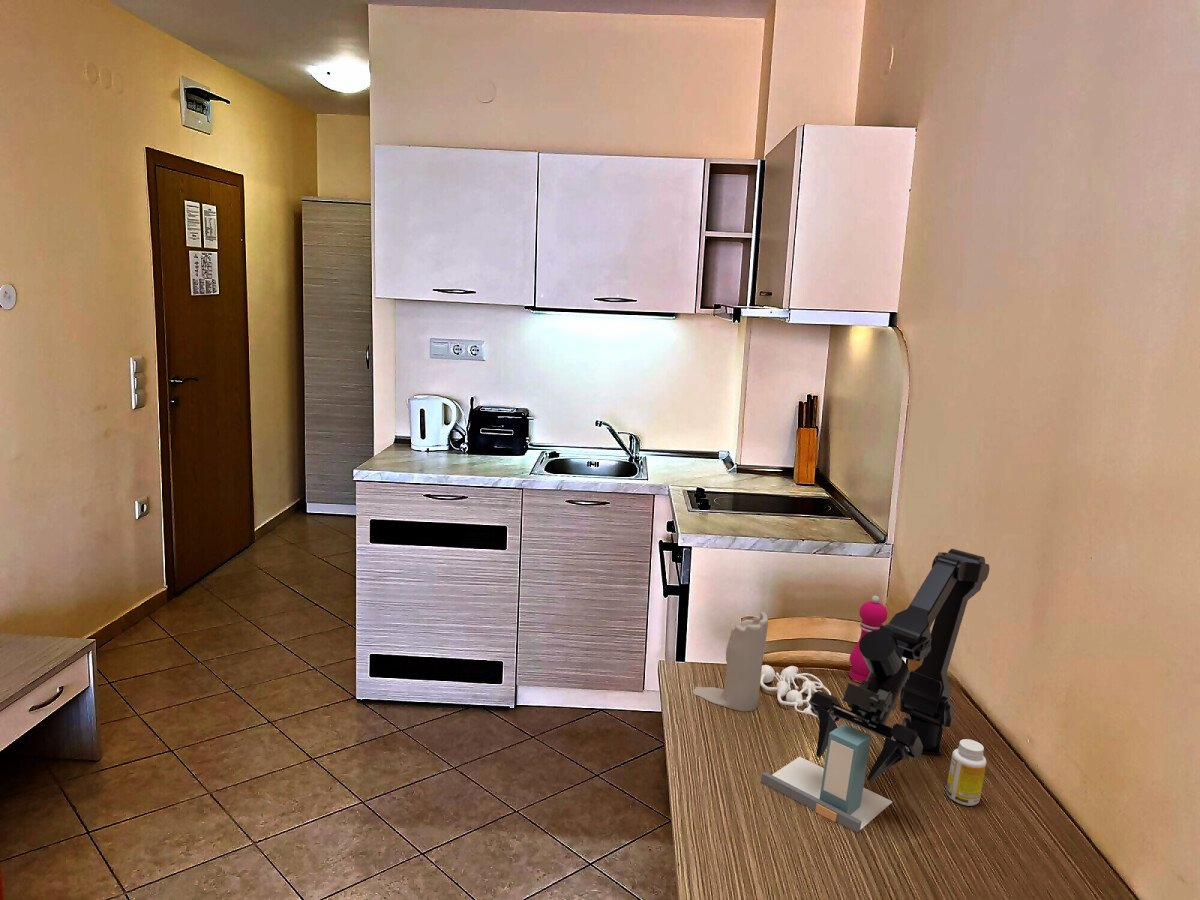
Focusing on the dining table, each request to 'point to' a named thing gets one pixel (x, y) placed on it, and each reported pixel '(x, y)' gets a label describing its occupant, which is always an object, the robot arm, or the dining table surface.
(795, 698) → the tangled rod sculpture
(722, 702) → the candle
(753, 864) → the dining table surface
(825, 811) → the ticket
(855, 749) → the carton
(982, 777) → the supplement bottle
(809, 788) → the white base plate
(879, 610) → the pepper mill
